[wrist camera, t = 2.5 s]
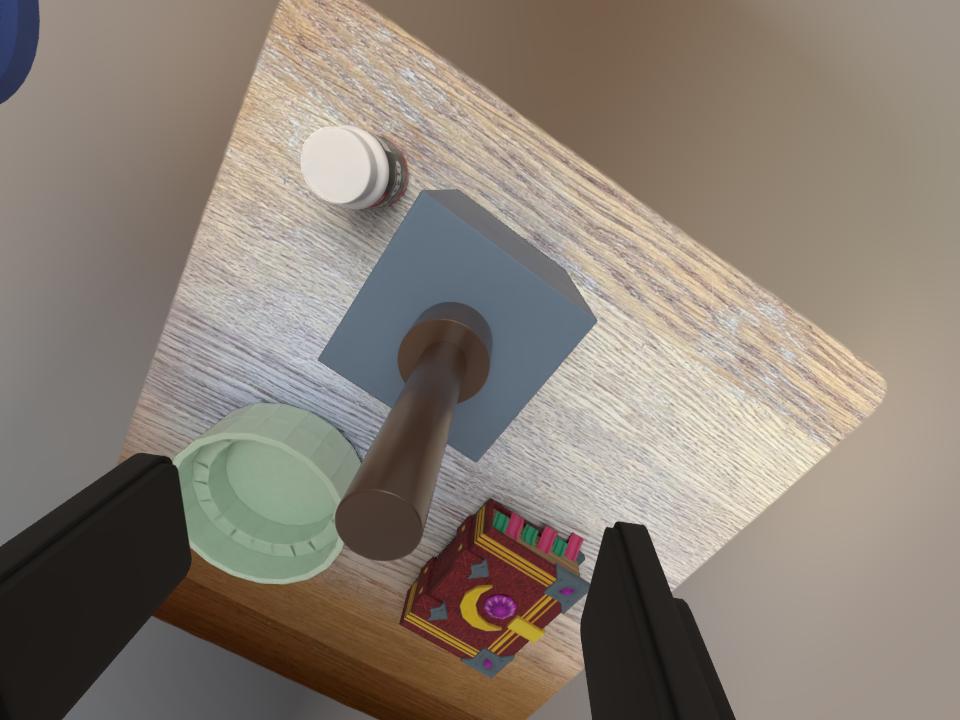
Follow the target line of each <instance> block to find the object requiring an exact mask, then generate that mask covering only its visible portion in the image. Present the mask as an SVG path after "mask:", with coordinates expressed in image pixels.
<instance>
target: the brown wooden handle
mask: <svg viewBox="0 0 960 720" xmlns="http://www.w3.org/2000/svg"><path fill="white" fill-rule="evenodd" d="M492 347H493V338H492V333H491V330H490V327H489V325H488V323H487V321H486V320H485V319H484V317H483V316H482V315H481V314H480V313H479V312H478V311H476V310H475V309H473V308H472V307H470V306H468V305H465V304H462V303H458V302H443V303H439V304H436V305H433V306H431V307H429V308H428V309H427V310H425V311H424V312H423V313H422V314H421V315H420V316H419V318H418V319H417V320H416V322H415V323H414V324H413V326H412V327H411V328H410V330H409V331H408V333H407V334H406V335H405V337H404V338H403V340H402V342H401V344H400V347H399V351H398V368H399V372H400V375H401V377H402V379H403V381H404V382H405V385H404V387H403V389H402V391H401V393H400V394H399V396H398V398H397V400H396V402H395V404H394V405H393V407H392V409H391V411H390V413H389V414H388V416H387V418H386V420H385V422H384V423H383V425H382V427H381V429H380V431H379V433H378V434H377V436H376V438H375V440H374V442H373V443H372V445H371V447H370V449H369V451H368V452H367V454H366V456H365V458H364V460H363V462H362V463H361V465H360V467H359V469H358V471H357V472H356V474H355V476H354V478H353V480H352V482H351V483H350V485H349V487H348V489H347V491H346V492H345V494H344V496H343V498H342V500H341V501H340V503H339V505H338V507H337V510H336V513H335V527H336V530H337V533H338V535H339V537H340V538H341V540H342V541H343V542H344V544H345V545H346V546H347V547H348V548H350V549H351V550H352V551H354V552H355V553H357V554H359V555H361V556H363V557H365V558H368V559H372V560H377V561H391V560H397V559H400V558H403V557H405V556H407V555H408V554H410V553H411V552H412V551H413V550H414V549H415V548H416V547H417V546H418V545H419V543H420V541H421V538H422V535H423V531H424V528H425V524H426V520H427V516H428V512H429V509H430V505H431V501H432V497H433V493H434V489H435V486H436V482H437V478H438V474H439V470H440V466H441V463H442V459H443V455H444V451H445V447H446V444H447V440H448V436H449V432H450V428H451V424H452V421H453V417H454V413H455V409H456V405H457V404H458V403H461V402H464V401H466V400H468V399H470V398H472V397H473V396H474V395H476V394H477V393H478V392H479V391H480V390H481V389H482V387H483V386H484V384H485V382H486V380H487V378H488V375H489V369H490V362H491V355H492Z"/></svg>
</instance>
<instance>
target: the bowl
mask: <svg viewBox="0 0 960 720" xmlns="http://www.w3.org/2000/svg"><path fill="white" fill-rule="evenodd" d="M172 463H173V465H176V467H177V468H178V472H179V479H180V485H181V492H182V498H183V505H184V512H185V518H186V525H187V531H188V538H189V544H190V547H191V548H192V549H193V550H194V551H195V552H197V553H198V554H199V555H200V556H201V557H202V558H203V559H205V560H206V561H207V562H208V563H210V564H212V565H214V566H216V567H218V568H220V569H221V570H223V571H225V572H227V573H229V574H231V575H233V576H236V577H240V578H243V579H247V580H250V581H254V582H257V583H269V584H288V583H293V582H298V581H302V580H307V579H310V578H311V577H313V576H315V575H317V574H318V573H320V572H322V571H323V570H325V569H327V568H328V567H329V566H330V565H331V564H332V562H333V561H334V560H335V558H336V557H337V556H338V555H339V553H340V552H341V551H342V549H343V547H344V545H345V544H344V542H343V541H342V540H341V538H340V537H339V535H338V533H337V530H336V527H335V513H336V510H337V507H338V505H339V503H340V501H341V500H342V498H343V496H344V494H345V492H346V491H347V489H348V487H349V485H350V483H351V482H352V480H353V478H354V476H355V474H356V472H357V471H358V469H359V467H360V465H361V462H360V460H359V458H358V456H357V454H356V452H355V450H354V448H353V446H352V445H351V444H350V443H349V442H348V441H347V440H346V439H345V437H344V436H343V435H342V434H341V433H340V432H339V431H338V430H337V429H336V428H335V427H334V426H333V425H331V424H330V423H328V422H326V421H325V420H323V419H322V418H320V417H318V416H317V415H315V414H313V413H312V412H310V411H307V410H303V409H300V408H297V407H294V406H290V405H287V404H283V403H256V404H252V405H249V406H246V407H242V408H239V409H236V410H233V411H232V412H230V413H229V414H228V415H226V416H225V417H224V418H223V419H221V420H220V421H219V422H217V423H216V424H215V425H214V426H212V427H211V428H210V429H209V430H207V431H206V432H205V433H204V434H202V435H201V436H200V437H198V438H197V439H196V440H195V441H193V442H192V443H191V444H190V445H188V446H187V447H186V448H185V449H183V450H182V451H181V452H180V453H178V454H177V455H176V457H175V459H174V461H173V462H172Z"/></svg>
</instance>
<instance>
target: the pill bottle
mask: <svg viewBox="0 0 960 720" xmlns="http://www.w3.org/2000/svg"><path fill="white" fill-rule="evenodd" d="M300 165H301V171H302V174H303V177H304V180H305V182H306V183H307V185H308V186H309V188H310V189H311V190H312V191H313V192H314V193H315V194H316V195H317V196H318V197H320V198H321V199H323V200H325V201H327V202H330V203H333V204H335V205H337V206H339V207H342V208H345V209H350V210H361V209H368V208H376V207H384V206H388V205H390V204H392V203H394V202H395V201H397V200H398V199H399V198H400V197H401V196H402V194H403V193H404V191H405V189H406V186H407V183H408V166H407V162H406V160H405V157H404V155H403V154H402V152H401V151H400V150H399V148H398V147H397V146H396V145H395V144H394V143H392V142H391V141H389V140H388V139H386V138H384V137H381V136H378V135H376V134H373V133H371V132H369V131H366V130H364V129H362V128H359V127H355V126H349V125H342V126H337V127H335V126H328V127H323V128H320V129H318V130H316V131H315V132H313V133H312V134H311V135H310V136H309V137H308V138H307V140H306V141H305V143H304V145H303V147H302V151H301V156H300Z"/></svg>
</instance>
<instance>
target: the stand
mask: <svg viewBox="0 0 960 720" xmlns="http://www.w3.org/2000/svg"><path fill="white" fill-rule="evenodd" d="M443 302H458V303H462V304H465V305H468V306H470V307H472V308H473V309H475V310H476V311H478V312H479V313H480V314H481V315H482V316H483V317H484V319H485V320H486V321H487V323H488V325H489V327H490V330H491V333H492V338H493V347H492V355H491V362H490V369H489V375H488V378H487V380H486V382H485V384H484V386H483V387H482V389H481V390H480V391H479V392H478V393H477V394H476V395H474V396H473V397H472V398H470V399H468V400H466V401H464V402H461V403H458V404H457V405H456V409H455V413H454V417H453V421H452V424H451V428H450V432H449V436H448V440H447V444H448V445H450V446H451V447H453V448H454V449H456V450H457V451H459V452H461V453H462V454H464V455H465V456H467V457H468V458H470V459H471V460H473V461H474V462H478V460H479V459H480V458H481V457H482V456H483V455H484V453H485V452H486V451H487V450H488V449H489V448H490V446H491V445H492V444H493V443H494V442H495V441H496V439H497V438H498V437H499V436H500V435H501V434H502V432H503V431H504V430H505V429H506V428H507V427H508V425H509V424H510V423H511V422H512V421H513V420H514V418H515V417H516V416H517V415H518V414H519V413H520V411H521V410H522V409H523V408H524V407H525V405H526V404H527V403H528V402H529V401H530V400H531V398H532V397H533V396H534V395H535V394H536V393H537V391H538V390H539V389H540V388H541V387H542V386H543V384H544V383H545V382H546V381H547V380H548V379H549V377H550V376H551V375H552V374H553V373H554V372H555V370H556V369H557V368H558V367H559V366H560V365H561V363H562V362H563V361H564V360H565V359H566V358H567V356H568V355H569V354H570V353H571V352H572V351H573V349H574V348H575V347H576V346H577V345H578V343H579V342H580V341H581V340H582V339H583V338H584V336H585V335H586V334H587V333H588V332H589V331H590V329H591V328H592V327H593V326H594V325H595V324H596V322H597V319H596V317H595V316H594V314H593V313H592V311H591V309H590V308H589V306H588V305H587V303H586V302H585V300H584V298H583V297H582V295H581V294H580V292H579V291H578V289H577V287H576V286H575V284H574V283H573V281H572V280H571V278H570V276H569V275H568V273H567V272H566V270H565V269H564V268H562V267H561V266H560V265H558V264H557V263H556V262H554V261H553V260H552V259H550V258H549V257H548V256H546V255H545V254H544V253H542V252H541V251H540V250H538V249H537V248H536V247H534V246H533V245H532V244H530V243H529V242H528V241H526V240H525V239H524V238H522V237H521V236H520V235H518V234H517V233H516V232H515V231H513V230H512V229H511V228H509V227H508V226H507V225H505V224H504V223H503V222H501V221H500V220H499V219H497V218H496V217H495V216H493V215H492V214H491V213H489V212H488V211H487V210H485V209H484V208H483V207H481V206H480V205H479V204H477V203H476V202H475V201H473V200H472V199H471V198H469V197H468V196H467V195H465V194H464V193H463V192H462V191H460V190H458V189H456V190H422V191H421V192H420V194H419V195H418V197H417V199H416V200H415V202H414V204H413V205H412V207H411V209H410V210H409V212H408V213H407V215H406V217H405V218H404V220H403V222H402V223H401V225H400V226H399V228H398V230H397V231H396V233H395V235H394V236H393V238H392V239H391V241H390V243H389V244H388V246H387V248H386V249H385V251H384V252H383V254H382V256H381V257H380V259H379V261H378V262H377V264H376V265H375V267H374V269H373V270H372V272H371V274H370V275H369V277H368V278H367V280H366V282H365V283H364V285H363V287H362V288H361V290H360V291H359V293H358V295H357V296H356V298H355V300H354V301H353V303H352V304H351V306H350V308H349V309H348V311H347V313H346V314H345V316H344V318H343V319H342V321H341V322H340V324H339V326H338V327H337V329H336V331H335V332H334V334H333V335H332V337H331V339H330V340H329V342H328V344H327V345H326V347H325V348H324V350H323V352H322V353H321V355H320V357H319V358H318V361H320V362H321V363H323V364H324V365H326V366H327V367H329V368H330V369H332V370H334V371H335V372H337V373H338V374H340V375H341V376H343V377H344V378H346V379H348V380H349V381H351V382H352V383H354V384H355V385H357V386H358V387H360V388H361V389H363V390H365V391H366V392H368V393H369V394H371V395H372V396H374V397H375V398H377V399H378V400H380V401H382V402H383V403H385V404H386V405H388V406H389V407H391V408H392V407H393V405H394V404H395V402H396V400H397V398H398V396H399V394H400V393H401V391H402V389H403V387H404V385H405V382H404V381H403V379H402V377H401V375H400V372H399V368H398V351H399V347H400V344H401V342H402V340H403V338H404V337H405V335H406V334H407V333H408V331H409V330H410V328H411V327H412V326H413V324H414V323H415V322H416V320H417V319H418V318H419V316H420V315H421V314H422V313H423V312H424V311H425V310H427V309H428V308H429V307H431V306H433V305H436V304H439V303H443Z"/></svg>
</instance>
